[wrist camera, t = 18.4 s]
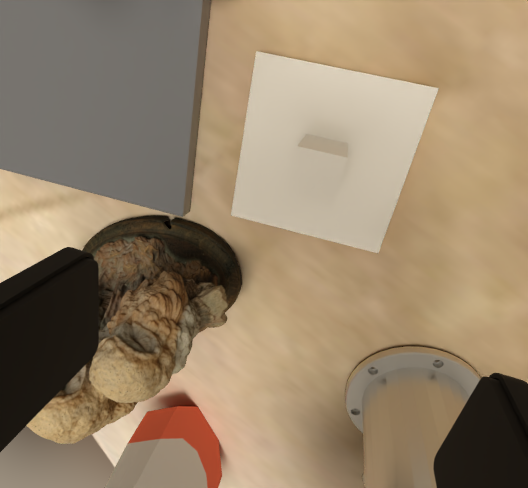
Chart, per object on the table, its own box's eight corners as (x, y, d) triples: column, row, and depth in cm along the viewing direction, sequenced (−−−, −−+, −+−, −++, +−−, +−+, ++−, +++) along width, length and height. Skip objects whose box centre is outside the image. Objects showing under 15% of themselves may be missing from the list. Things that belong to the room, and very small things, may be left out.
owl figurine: (233, 197, 31) (122, 315, 16) (267, 314, 35) (205, 496, 20) (63, 230, 36) (-145, 344, 21) (110, 329, 40) (-33, 483, 25)
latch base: (189, 211, 32) (182, 216, 31) (8, 163, 34) (-6, 167, 33) (232, -215, 21) (224, -235, 19) (-45, -248, 23) (-70, -268, 21)
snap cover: (376, 243, 30) (383, 286, 24) (237, 207, 32) (209, 239, 25) (432, 87, 25) (459, 90, 19) (262, 52, 26) (235, 45, 20)
